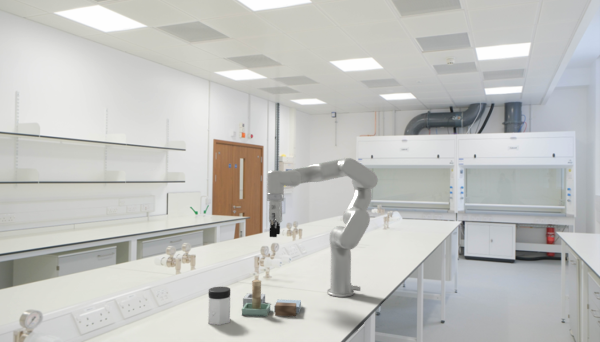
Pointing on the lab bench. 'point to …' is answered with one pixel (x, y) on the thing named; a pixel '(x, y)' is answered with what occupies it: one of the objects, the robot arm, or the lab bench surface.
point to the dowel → (256, 294)
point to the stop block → (285, 309)
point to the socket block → (249, 299)
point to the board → (298, 302)
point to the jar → (219, 305)
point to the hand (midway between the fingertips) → (274, 235)
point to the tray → (255, 310)
